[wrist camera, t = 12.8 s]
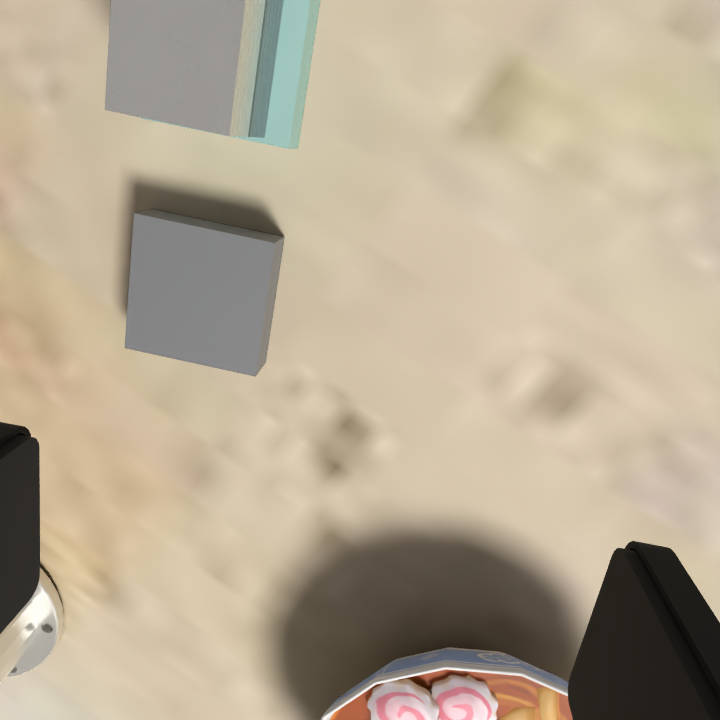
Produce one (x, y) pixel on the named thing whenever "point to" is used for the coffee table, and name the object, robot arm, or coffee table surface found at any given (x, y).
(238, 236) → the stand
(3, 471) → the robot arm
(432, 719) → the ramen bowl
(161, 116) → the block
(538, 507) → the coffee table surface
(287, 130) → the stand
